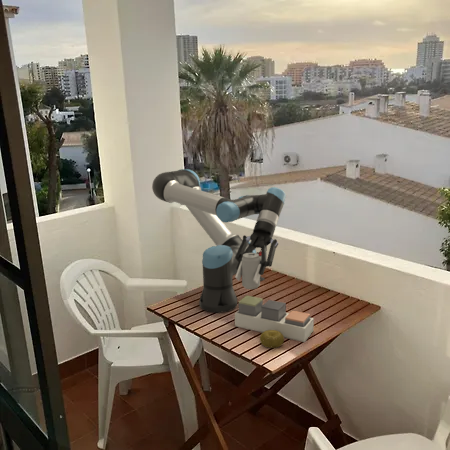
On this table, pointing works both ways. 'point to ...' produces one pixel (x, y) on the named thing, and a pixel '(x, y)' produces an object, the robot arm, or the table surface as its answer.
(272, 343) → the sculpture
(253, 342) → the table surface
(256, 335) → the table surface
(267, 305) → the key charcoal
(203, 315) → the table surface
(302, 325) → the key terracotta
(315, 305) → the table surface
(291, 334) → the light grey piece
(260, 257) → the sundae
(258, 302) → the key olive
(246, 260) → the beverage can
